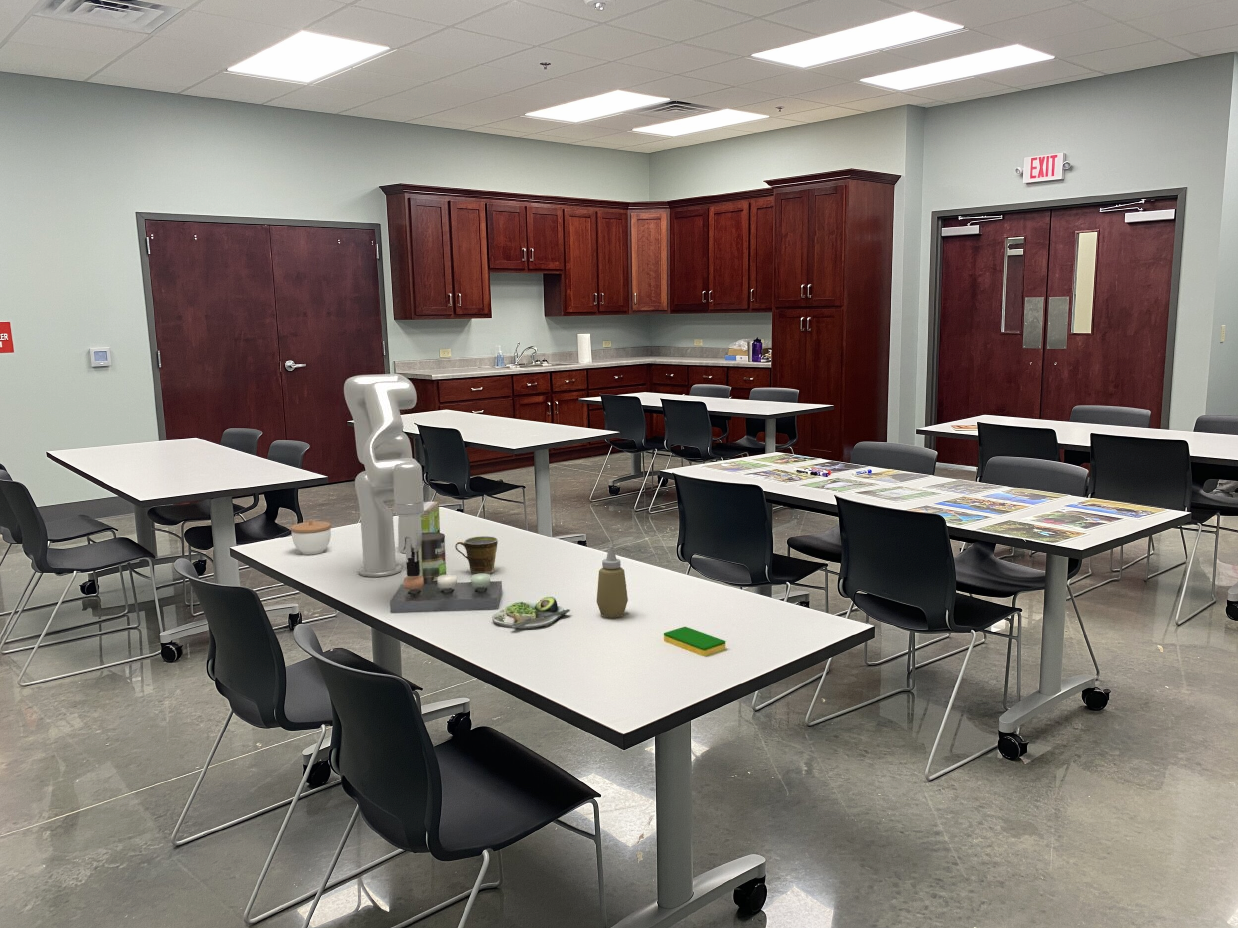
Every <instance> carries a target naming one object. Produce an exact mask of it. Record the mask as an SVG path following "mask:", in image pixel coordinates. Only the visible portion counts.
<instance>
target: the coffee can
mask: <svg viewBox="0 0 1238 928" xmlns="http://www.w3.org/2000/svg"><path fill="white" fill-rule="evenodd" d="M445 538H446V535H445V533H443V532H442V533H441V532H440V533H437V532H426V533H422V545H421V547H420V548H419V565H420V574H419V576H422V577H423V581H424V584H429V583H438V582H437V577H439V576H441V575H447V562H446V561H447V560H446V559H447V558H446V539H445Z"/></svg>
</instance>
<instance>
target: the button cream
mask: <svg viewBox="0 0 1238 928" xmlns="http://www.w3.org/2000/svg"><path fill="white" fill-rule="evenodd" d="M437 582H438V587H439V588H443V593H452V588H453V587H456V586H457V583H458V577H457V575H456V574H446V575H441V576H439V577H437Z"/></svg>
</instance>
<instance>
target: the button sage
mask: <svg viewBox="0 0 1238 928" xmlns="http://www.w3.org/2000/svg"><path fill="white" fill-rule="evenodd" d="M490 581H491V574H485V573H480V574H472V575H470V582H471V586H473V587H477V592H486V588H485V587H486V586H489V585H490V584H491V583H490Z"/></svg>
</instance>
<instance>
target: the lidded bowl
mask: <svg viewBox="0 0 1238 928" xmlns="http://www.w3.org/2000/svg"><path fill="white" fill-rule="evenodd" d="M331 525H332V524H331V523H330V522H328V521H322V520H321V521H319V520H318V521H313V519H308V521H305V522H300V523H296V524H294V525H292V526H290V531H291V537H292V542H293V545H294V547H295V548H296V549H297V550H298V551H300V553H301V554H302V555H306V556H307V555H308V556H309V555H319V554H321V553H324V552H325V550H326V549H327V548H328V546H329V544H330V541H331V537H332V535H331V534H332V533H331V532H332V531H331V527H332V526H331Z"/></svg>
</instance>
